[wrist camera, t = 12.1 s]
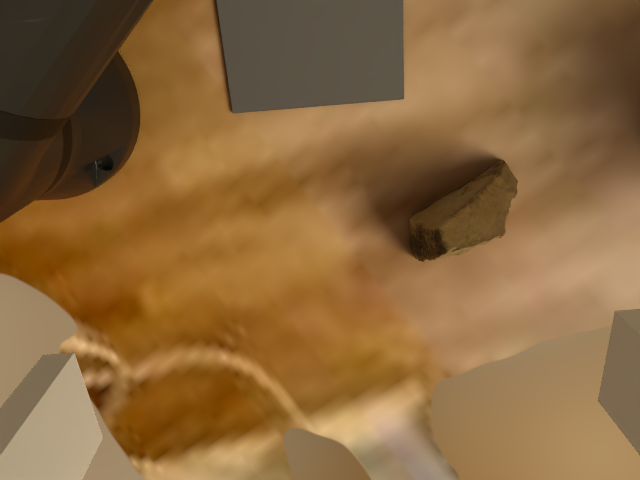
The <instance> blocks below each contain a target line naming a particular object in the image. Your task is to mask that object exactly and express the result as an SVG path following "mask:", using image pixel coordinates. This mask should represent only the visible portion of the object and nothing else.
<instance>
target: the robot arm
mask: <svg viewBox="0 0 640 480" xmlns="http://www.w3.org/2000/svg"><path fill="white" fill-rule="evenodd" d="M152 2H153V0H0V222H2V221H4V220H5V219H7V218H8V217H10V216H11V215H13V214H14V213H16V212H17V211H19V210H21V209H22V208H24V207H25V206H27V205H28V204H30V203H31V202H33V201H35V200H56V199H66V198H71V197H75V196H79V195H82V194H84V193H87V192H89V191H91V190H94V189H95V188H97V187H99V186H100V185H102V184H103V183H104V182H106V181H107V180H108V179H110V178H111V177H112V176H114V175H115V174H116V173H117V172H118V171H119V170H120V169H121V168H122V167H123V166H124V164H125V163H126V162H127V160H128V159H129V157H130V155H131V153H132V151H133V149H134V147H135V144H136V141H137V137H138V133H139V126H140V106H139V99H138V94H137V90H136V87H135V84H134V81H133V78H132V76H131V73H130V71H129V69H128V67H127V65H126V64H125V62H124V60H123V59H122V57H121V55H120V54H119V52H118V50H119V48H120V47H121V46H122V44H123V43H124V41H125V40H126V39H127V37H128V36H129V34H130V33H131V31H132V30H133V29H134V27H135V26H136V24H137V23H138V21H139V20H140V19H141V17H142V16H143V14H144V13H145V12H146V10H147V9H148V7H149V6H150V4H151V3H152ZM598 401H599V403H600V404H601V405H602V406H603V408H604V409H605V411H606V412H607V413H608V414H609V416H610V417H611V418H612V420H613V421H614V422H615V423H616V425H617V426H618V427H619V429H620V430H621V431H622V433H623V434H624V435H625V437H626V438H627V439H628V440H629V442H630V443H631V444H632V446H633V447H634V448H635V450H636V451H637V452H638V453H639V455H640V309H634V310H621V311H615V313H614V318H613V324H612V329H611V334H610V340H609V345H608V350H607V355H606V361H605V366H604V371H603V377H602V382H601V387H600V393H599V398H598ZM102 438H103V437H102V434H101V431H100V428H99V425H98V422H97V419H96V416H95V413H94V410H93V407H92V404H91V401H90V398H89V395H88V392H87V389H86V386H85V383H84V380H83V377H82V374H81V371H80V368H79V365H78V362H77V359H76V356H75V353H63V354H50V355H43V356H42V357H41V358H40V360H39V361H38V362H37V363H36V365H35V366H34V367H33V368H32V370H31V371H30V372H29V373H28V374H27V376H26V377H25V378H24V379H23V381H22V382H21V383H20V384H19V386H18V387H17V388H16V389H15V390H14V392H13V393H12V395H10V397H9V398H8V399H7V400H6V402H5V403H4V404H3V405H2V407H1V408H0V480H82V479H83V477H84V474H85V473H86V471H87V469H88V466H89V465H90V463H91V461H92V458H93V456H94V455H95V453H96V451H97V449H98V447H99V445H100V443H101V441H102Z"/></svg>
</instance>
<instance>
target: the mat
mask: <svg viewBox="0 0 640 480" xmlns="http://www.w3.org/2000/svg"><path fill="white" fill-rule="evenodd" d="M216 1H217V8H218V15H219V22H220V28H221V35H222V42H223V49H224V56H225V63H226V70H227V76H228V83H229V90H230V97H231V104H232V111H233V113H243V112H255V111H267V110H279V109H291V108H303V107H315V106H327V105H340V104H352V103H364V102H376V101H388V100H400V99H404V60H403V0H216Z"/></svg>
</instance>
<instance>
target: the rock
mask: <svg viewBox="0 0 640 480" xmlns="http://www.w3.org/2000/svg"><path fill="white" fill-rule="evenodd" d="M517 183H518V181H517V179H516V178H515V177H514V175H513V174H512V172H511V170H510V168H509V167H508V165H507V164H506V163H505V161H504V160H502V161H500V162H498V163H496V164H495V165H493V166H492V167H490V168H489V169H488V170H486V171H485V172H483V173H482V174H481V175H479V176H478V177H476V178H475V179H473V180H471V181H470V182H468V183H467V184H465V185H464V186H463V187H461V188H459V189H458V190H456V191H455V192H452V193H449V194H447V195H446V196H444V197H443V198H442V199H440V200H437V201H435V202H434V203H433V204H431V205H430V206H428V207H427V208H426V209H425V210H421V211H419V212H417V213H416V214H414V215H413V216H412V217H411V218H410V220H409V236H410V245H411V248H412V250H413V252H414V254H415V258H416V259H418V260H419V261H422V262H425V261H426V260H436V259H438V258H444V257H446V256H450V255H459V254H463V253H464V252H467V251H469V250H470V249H472V248H474V247H476V246H478V245H482V244H487V243H489V242H491V241H493V240H494V239H495V238H501V237H502V236H503V235H504V234H505V221H506V217H507V215H508V213H509V208H510V206H511V200H512V199H513V198H515V197H516V195H517Z"/></svg>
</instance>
